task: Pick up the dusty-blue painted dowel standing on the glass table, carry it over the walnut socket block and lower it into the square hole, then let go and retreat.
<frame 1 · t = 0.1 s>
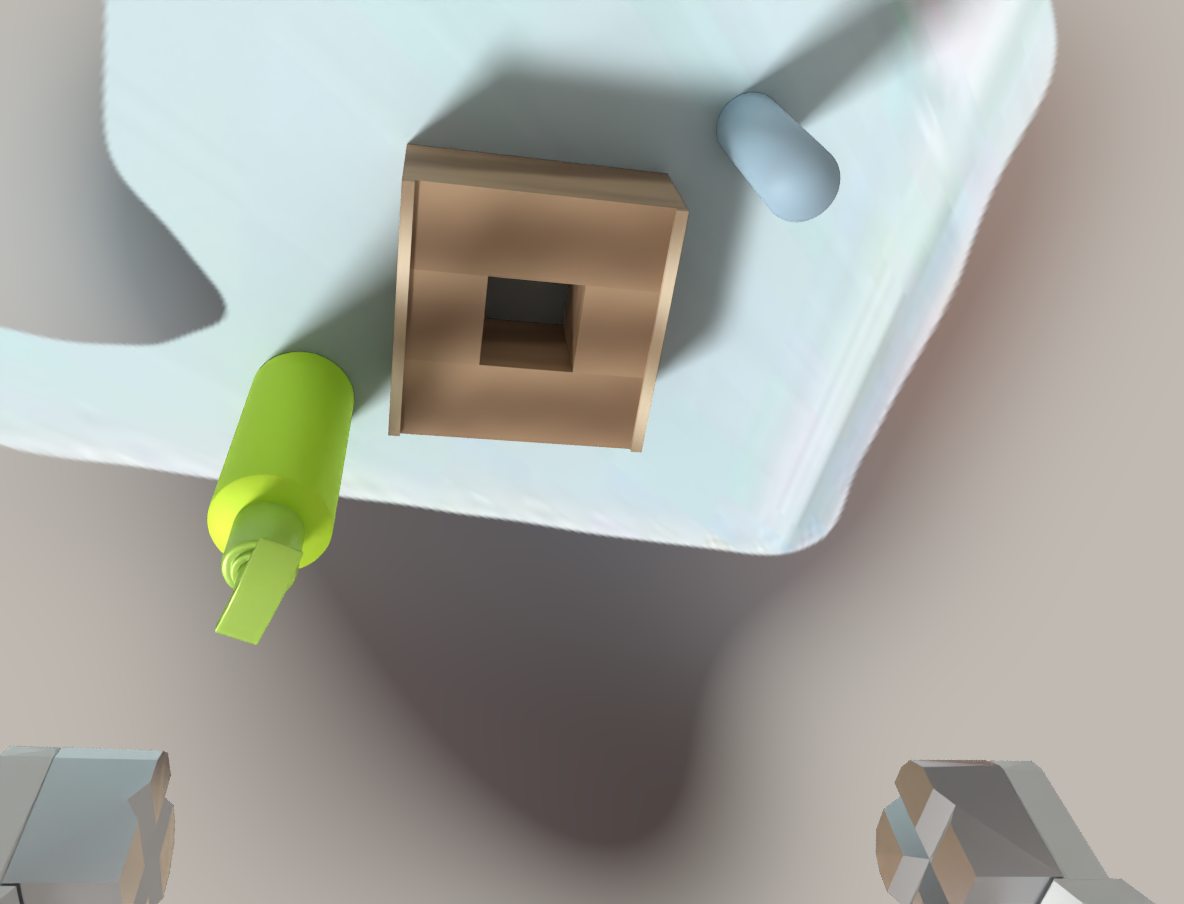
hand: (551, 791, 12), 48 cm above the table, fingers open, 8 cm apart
dowel: (749, 126, 56), on the table
socket block: (525, 281, 59), on the table
soap dispenser: (307, 387, 62), on the table
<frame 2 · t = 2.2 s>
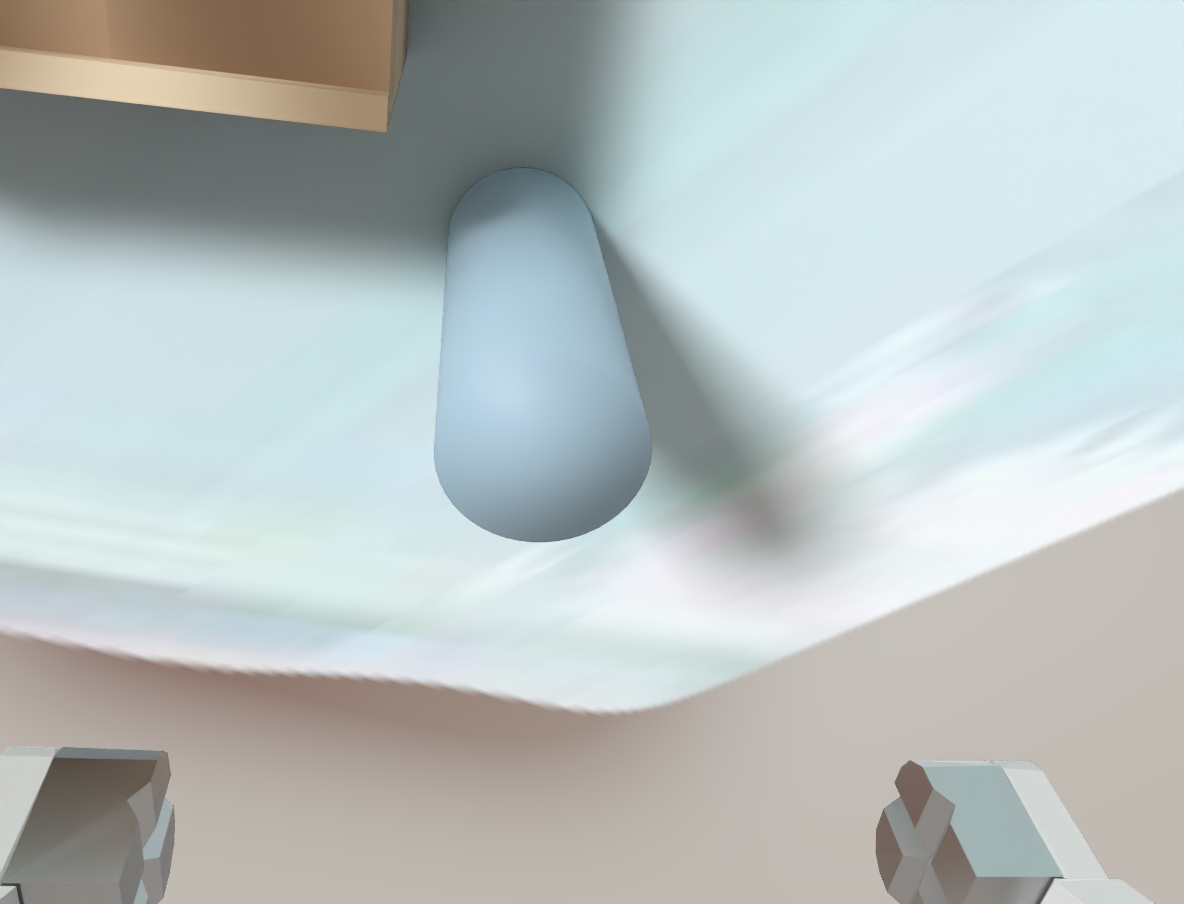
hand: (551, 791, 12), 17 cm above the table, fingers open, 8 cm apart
dowel: (522, 240, 26), on the table
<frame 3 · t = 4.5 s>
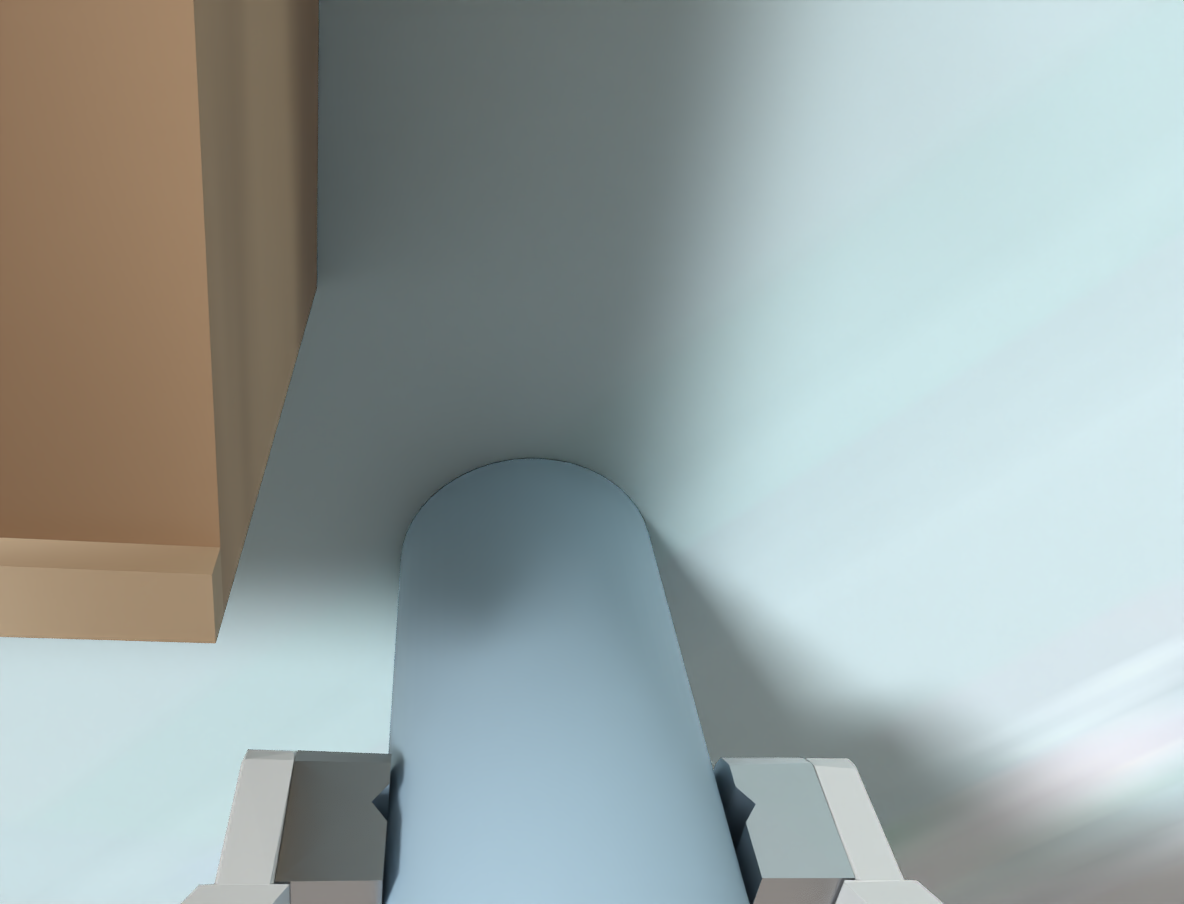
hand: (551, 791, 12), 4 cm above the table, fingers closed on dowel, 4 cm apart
dowel: (527, 564, 15), on the table, touching gripper
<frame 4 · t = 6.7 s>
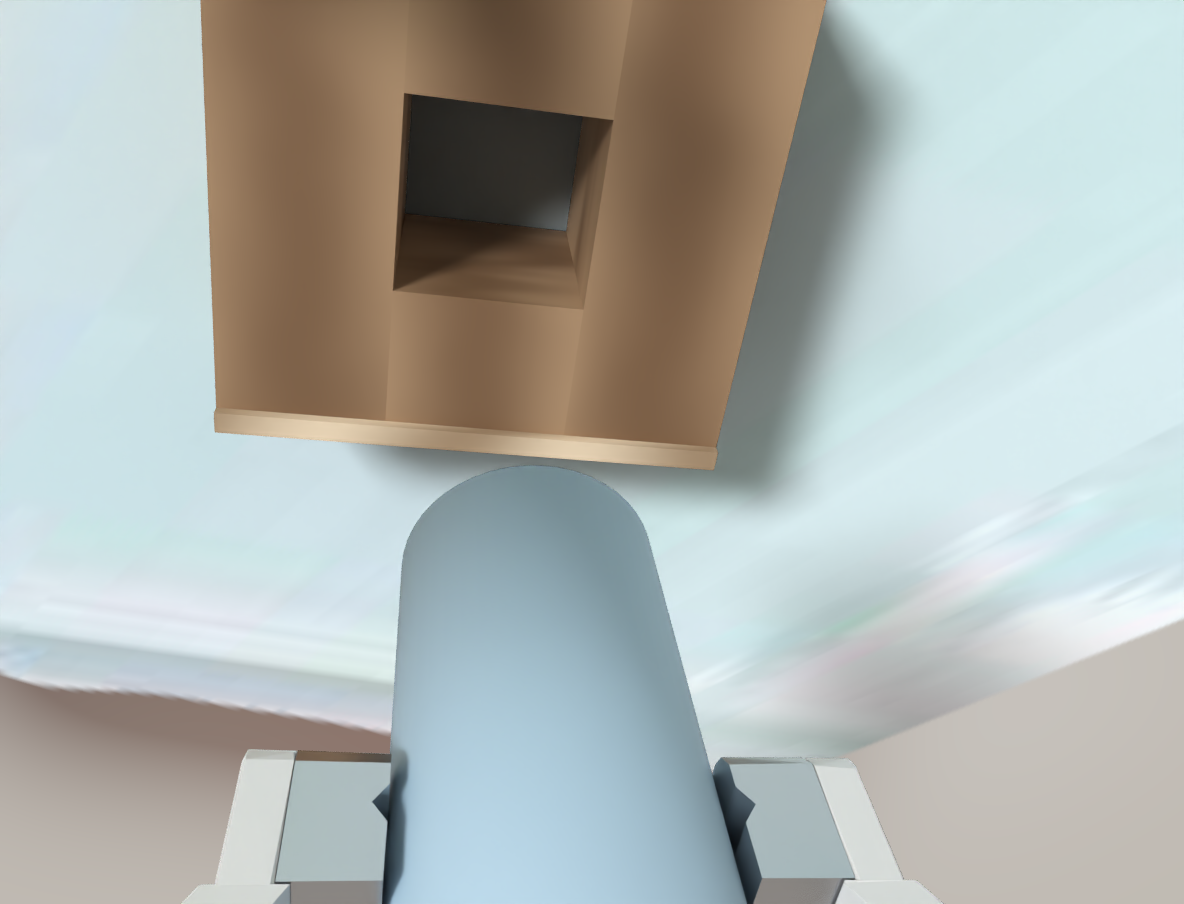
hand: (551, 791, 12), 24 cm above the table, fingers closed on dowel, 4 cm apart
dowel: (528, 570, 15), point 20 cm above the table, touching gripper
socket block: (494, 142, 31), on the table
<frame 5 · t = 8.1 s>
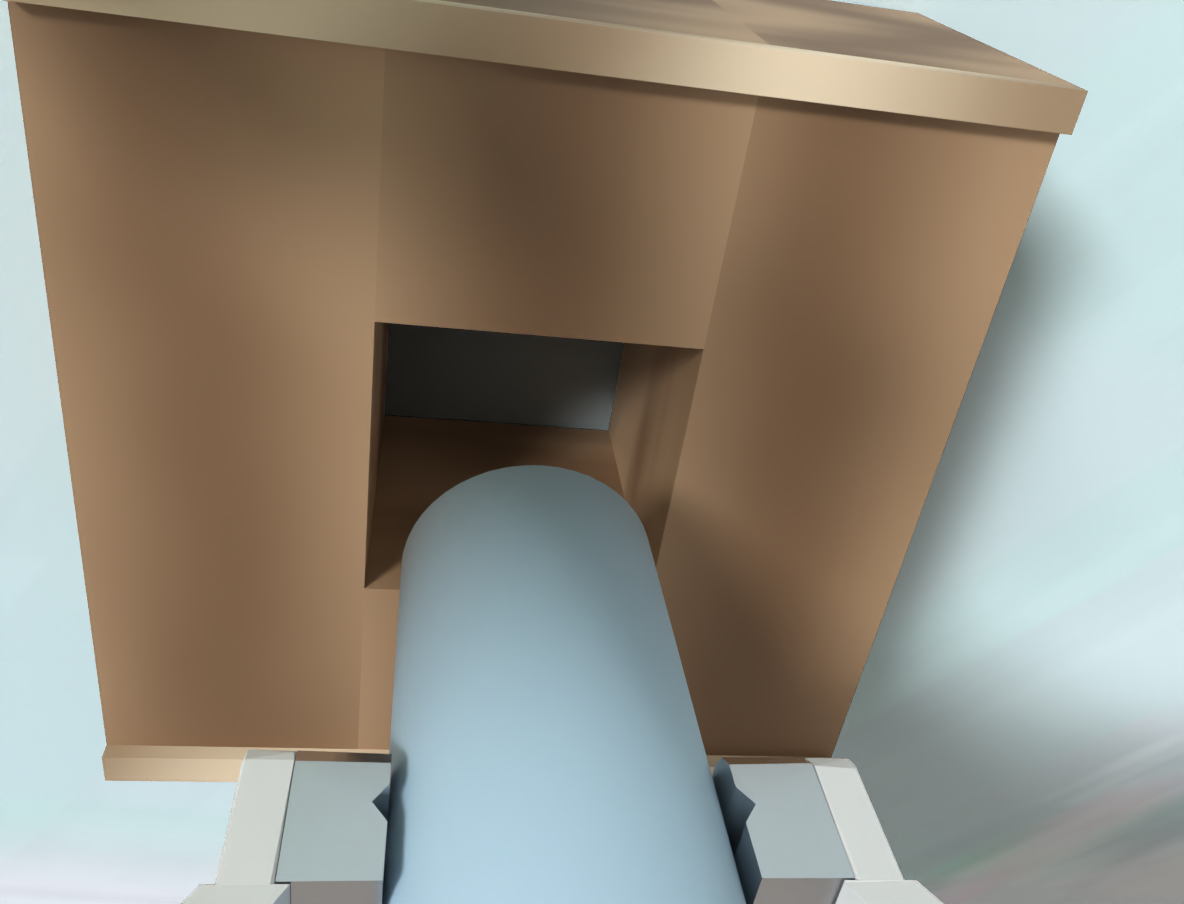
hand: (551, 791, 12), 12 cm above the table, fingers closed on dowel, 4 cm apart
dowel: (527, 570, 15), point 8 cm above the table, touching gripper
socket block: (510, 320, 22), on the table
when the fingers open (8 cm above the table, at t = 9.2 s): dowel drops 4 cm, resting in socket block.
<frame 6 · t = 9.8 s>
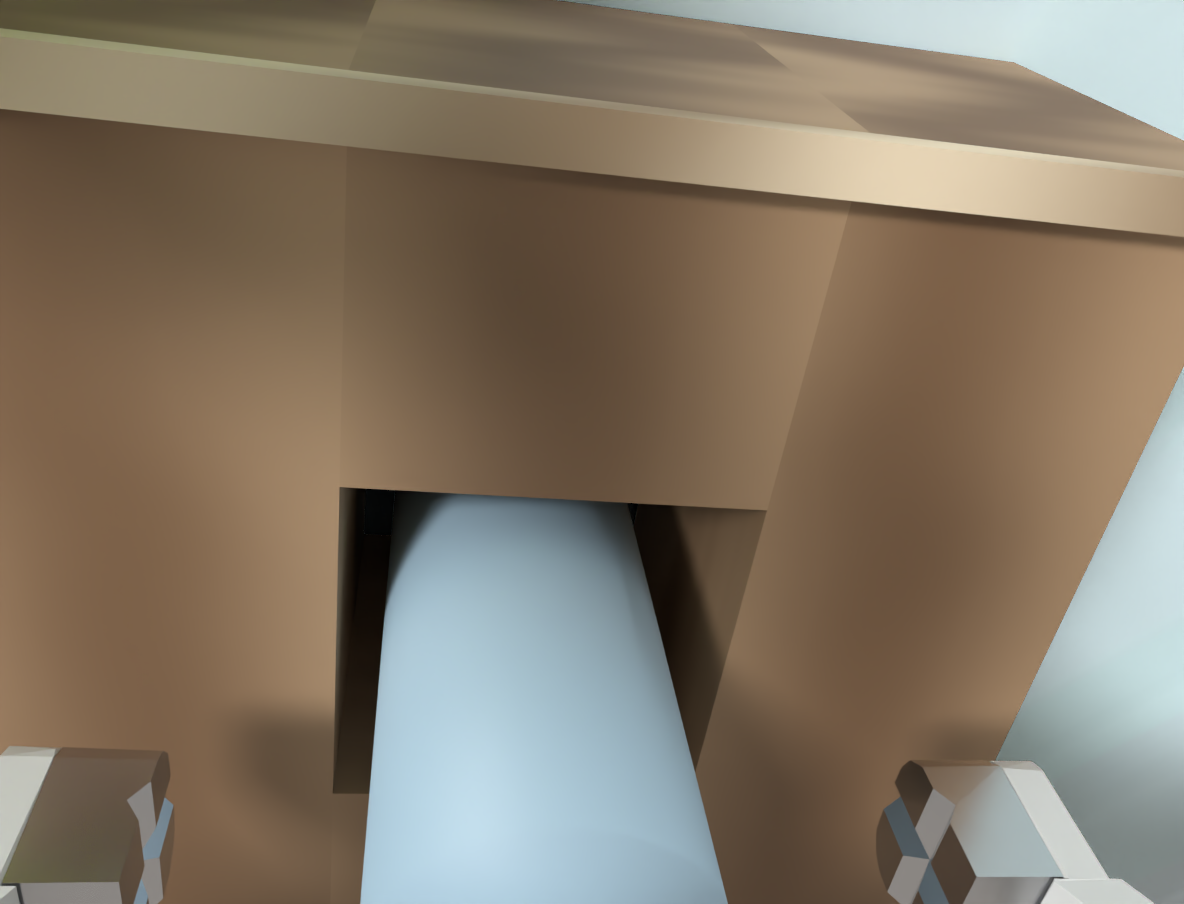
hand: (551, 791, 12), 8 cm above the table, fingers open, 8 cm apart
dowel: (503, 429, 19), resting in socket block
socket block: (513, 425, 18), on the table
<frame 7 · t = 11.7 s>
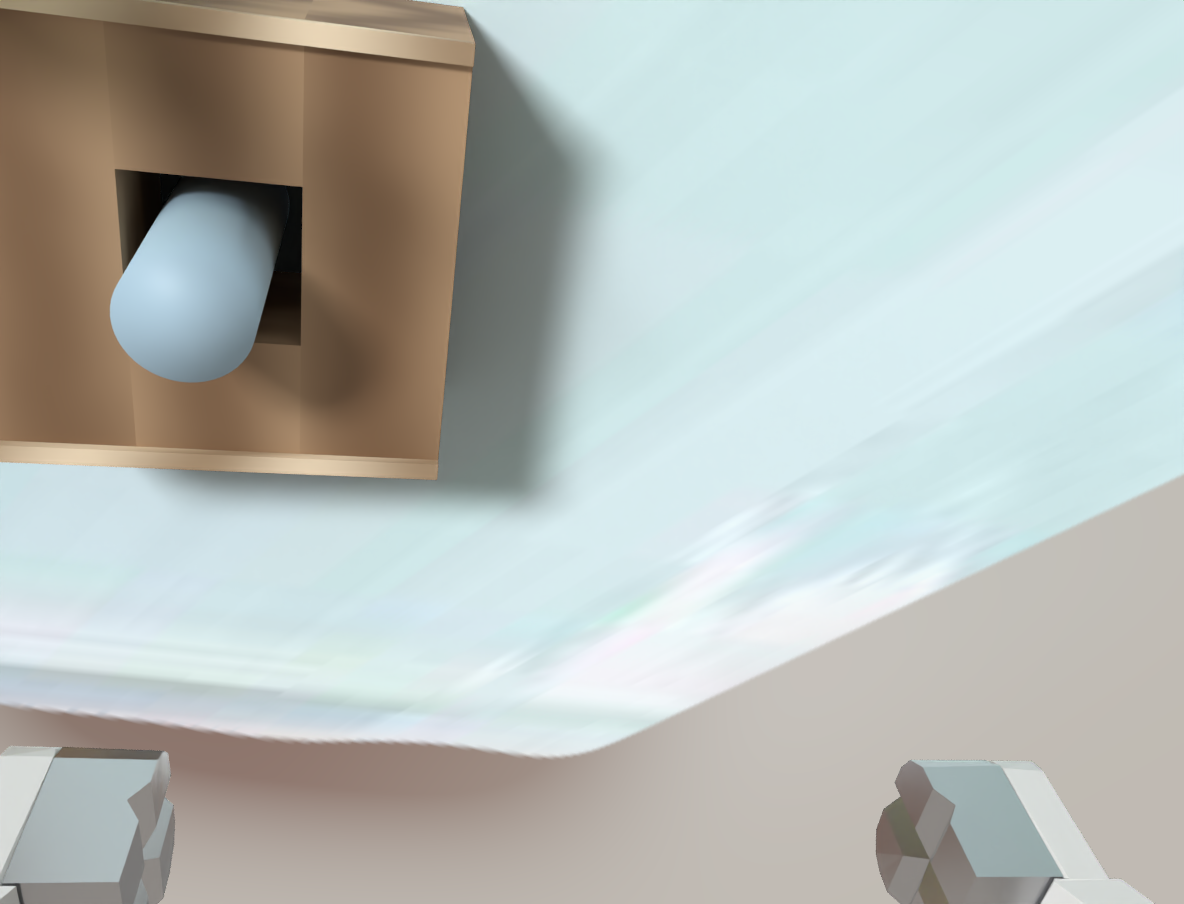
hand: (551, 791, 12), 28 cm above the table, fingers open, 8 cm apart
dowel: (234, 201, 36), resting in socket block
socket block: (239, 198, 36), on the table
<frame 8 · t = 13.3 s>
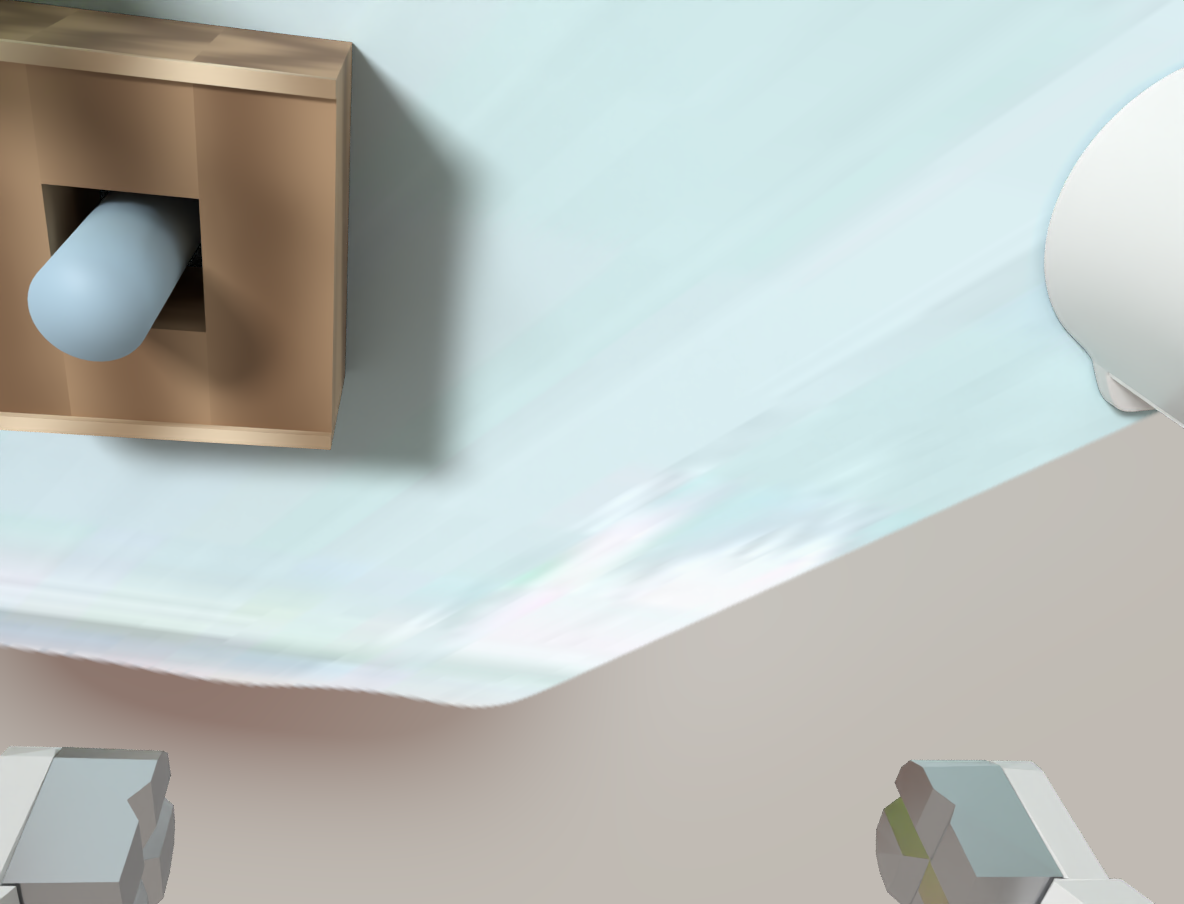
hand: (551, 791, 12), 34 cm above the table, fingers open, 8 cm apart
dowel: (163, 207, 42), resting in socket block
socket block: (167, 205, 41), on the table
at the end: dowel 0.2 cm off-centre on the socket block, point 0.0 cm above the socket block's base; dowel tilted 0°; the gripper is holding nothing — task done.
